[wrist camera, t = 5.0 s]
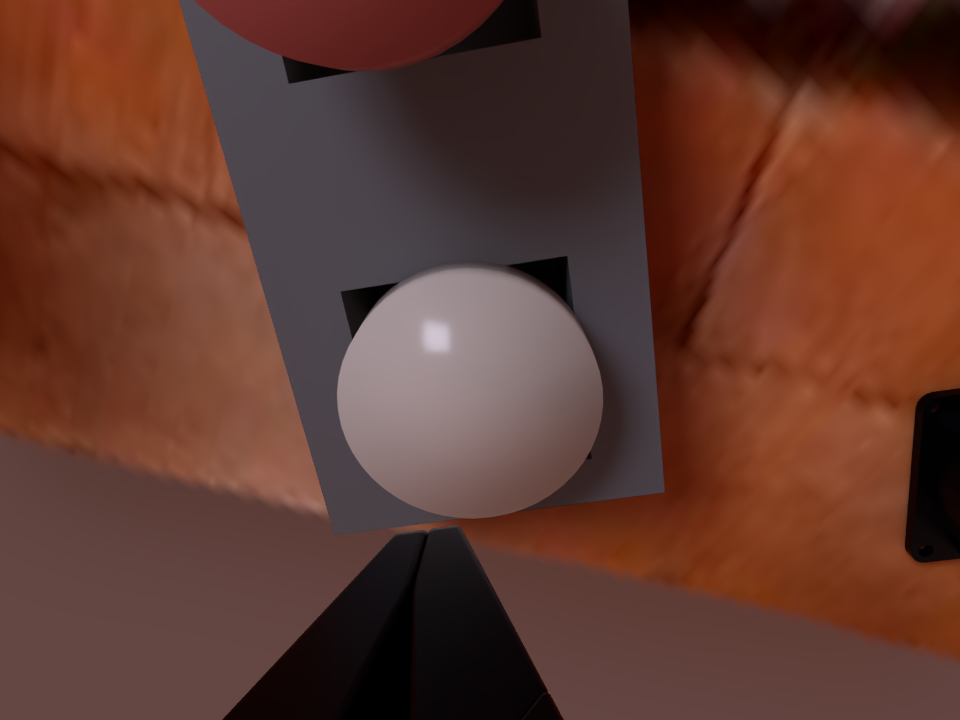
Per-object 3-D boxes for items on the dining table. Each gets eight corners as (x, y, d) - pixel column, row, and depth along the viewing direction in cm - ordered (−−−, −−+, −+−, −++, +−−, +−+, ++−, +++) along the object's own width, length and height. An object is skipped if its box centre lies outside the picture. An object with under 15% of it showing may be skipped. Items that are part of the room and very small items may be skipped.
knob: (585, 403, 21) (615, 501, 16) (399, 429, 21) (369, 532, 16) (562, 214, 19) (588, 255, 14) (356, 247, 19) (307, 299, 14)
